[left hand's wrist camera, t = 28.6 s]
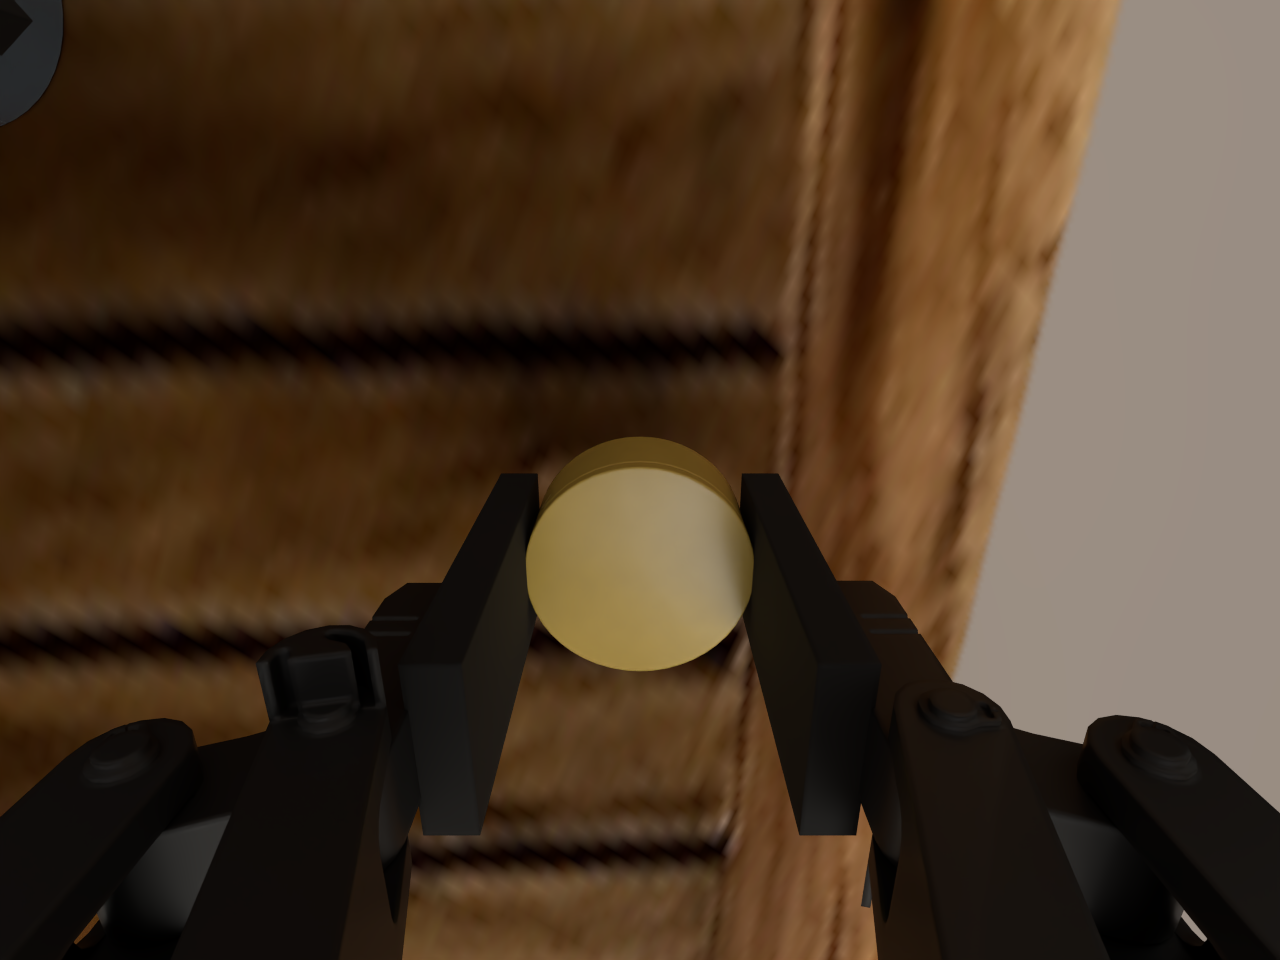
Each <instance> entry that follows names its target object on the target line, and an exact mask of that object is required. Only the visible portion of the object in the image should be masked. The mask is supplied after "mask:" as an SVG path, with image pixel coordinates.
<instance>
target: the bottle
mask: <svg viewBox="0 0 1280 960" xmlns="http://www.w3.org/2000/svg"><path fill="white" fill-rule="evenodd" d="M15 2H16V3H17V4H18V5H19V6H20V7H21V8H22V9H23V10H24V12H25V13H26V14H27V15H28V16H29V17H30V18H31V19H32V20H33V22H32V23H31V24H30V25H29V26H28V27H27V28H26V30H25V31H24V32H23V33H22V34H21V35H20V36H19V37H18V38H17V40H16V41H15V42H14V43H13V44H12V45H11V46H10V47H9V48H8V50H7V51H6V52H5V53H4V54H3V55H2V56H1V55H0V126H2V125H4V124H6V123H8V122H11V121H13V120H15V119H16V118H18V117H19V116H21V115H22V114H24V113H25V112H26V111H28V110H29V109H30V108H31V107H32V106H33V105H34V104H35V103H36V102H37V101H38V100H39V99H40V97H41V96H42V94H43V93H44V91H45V90H46V88H47V87H48V86H49V83H50V81H51V79H52V77H53V75H54V73H55V70H56V67H57V64H58V60H59V57H60V53H61V46H62V39H63V7H62V0H15Z"/></svg>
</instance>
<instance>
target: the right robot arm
mask: <svg viewBox="0 0 1280 960" xmlns="http://www.w3.org/2000/svg"><path fill="white" fill-rule="evenodd" d="M32 22H33V20H32V19H31V18H30V17H29V16H28V15H27V14H26V13H25V12H24V10H23V9H22V8H21V7H20V6H19V5H18V4H17V3H16V2H15V0H0V55H1V56H2V55H3V54H4V53H5V52H6V51H7V50H8V48H9V47H10V46H11V45H12V44H13V43H14V42H15V41H16V40H17V38H18V37H19V36H20V35H21V34H22V33H23V32H24V31H25V30H26V28H27V27H28V26H29V25H30V24H31V23H32Z"/></svg>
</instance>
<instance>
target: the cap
mask: <svg viewBox="0 0 1280 960" xmlns="http://www.w3.org/2000/svg"><path fill="white" fill-rule="evenodd" d="M753 564H754V553H753V548H752V544H751V541H750V538H749V535H748V532H747V529H746V526H745V523H744V520H743V517H742V514H741V511H740V508H739V505H738V503H737V500H736V497H735V495H734V493H733V491H732V489H731V487H730V485H729V484H728V482H727V481H726V479H725V478H724V476H723V475H722V474H721V473H720V472H719V471H718V469H717V468H716V467H715V466H714V465H713V464H711V463H710V462H709V461H708V460H707V459H706V458H704V457H703V456H701V455H700V454H698V453H697V452H695V451H694V450H692V449H689V448H687V447H685V446H683V445H681V444H678V443H675V442H672V441H669V440H665V439H660V438H654V437H626V438H620V439H615V440H611V441H608V442H604V443H601V444H599V445H596V446H594V447H592V448H590V449H588V450H586V451H584V452H583V453H581V454H580V455H578V456H577V457H575V458H574V459H573V460H572V461H570V462H569V463H568V464H567V465H566V466H565V467H564V468H563V469H562V470H561V471H560V472H559V473H558V474H557V476H556V477H555V479H554V480H553V482H552V483H551V484H550V486H549V488H548V490H547V492H546V494H545V496H544V499H543V502H542V504H541V507H540V510H539V513H538V516H537V519H536V522H535V525H534V528H533V530H532V533H531V536H530V539H529V542H528V546H527V550H526V571H527V586H528V595H529V598H530V601H531V603H532V605H533V608H534V610H535V612H536V614H537V615H538V617H539V619H540V620H541V622H542V623H543V625H544V626H545V627H546V628H547V630H548V631H549V632H550V633H551V634H552V635H553V636H554V637H555V638H556V639H557V640H558V641H559V642H560V643H561V644H562V645H564V646H565V647H567V648H568V649H569V650H571V651H572V652H574V653H575V654H577V655H579V656H581V657H583V658H584V659H587V660H589V661H592V662H594V663H596V664H599V665H603V666H606V667H610V668H615V669H620V670H629V671H652V670H659V669H665V668H670V667H673V666H677V665H680V664H683V663H685V662H688V661H691V660H693V659H695V658H697V657H699V656H701V655H702V654H704V653H706V652H707V651H709V650H710V649H712V648H713V647H714V646H716V645H717V644H718V643H719V642H720V641H722V640H723V639H724V638H725V637H726V636H727V635H728V634H729V633H730V631H731V630H732V629H733V628H734V627H735V626H736V624H737V623H738V621H739V619H740V618H741V616H742V615H743V613H744V611H745V609H746V607H747V604H748V602H749V599H750V596H751V592H752V580H753Z"/></svg>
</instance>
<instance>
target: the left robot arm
mask: <svg viewBox="0 0 1280 960" xmlns="http://www.w3.org/2000/svg"><path fill="white" fill-rule="evenodd" d="M539 510H540V508H539V490H538V474H501V475H500V477H499V479H498V481H497V483H496V484H495V486H494V488H493V490H492V492H491V494H490V495H489V497H488V499H487V501H486V503H485V505H484V506H483V508H482V510H481V512H480V514H479V516H478V518H477V519H476V521H475V523H474V525H473V527H472V529H471V530H470V532H469V534H468V536H467V538H466V540H465V541H464V543H463V545H462V547H461V549H460V551H459V552H458V554H457V556H456V558H455V560H454V562H453V564H452V565H451V567H450V569H449V571H448V573H447V575H446V576H445V578H444V580H443V582H442V583H407V584H405V585H404V586H402V587H401V588H400V589H398V590H397V591H395V592H394V593H392V594H391V595H389V596H388V597H387V598H385V599H384V601H383V602H382V604H381V605H380V607H379V608H378V610H377V611H376V613H375V614H374V615H373V617H372V621H369V623H368V624H367V626H366V627H365V629H362V628H358V627H354V626H351V625H329V626H324V627H319V628H314V629H309V630H305V631H303V632H300V633H298V634H295V635H293V636H290V637H288V638H285V639H283V640H282V641H280V642H279V643H277V644H276V645H274V646H273V647H271V648H270V649H268V650H267V651H266V652H265V653H264V654H263V656H262V657H261V658H260V659H259V660H258V662H257V663H256V666H257V670H258V675H259V679H260V683H261V687H262V691H263V696H264V700H265V704H266V708H267V712H268V716H269V721H270V722H269V725H268V727H267V730H266V731H264V732H261V733H257V734H254V735H250V736H247V737H242V738H237V739H233V740H228V741H224V742H219V743H214V744H210V745H205V746H200V747H197V745H196V741H195V738H194V734H193V731H192V729H191V728H189V727H188V726H187V725H186V724H185V723H184V722H182V721H178V720H172V719H167V718H160V719H151V720H141V721H137V722H134V723H129V724H128V725H123V726H120V727H117V728H114V729H112V730H110V731H108V732H106V733H104V734H102V735H100V736H98V737H96V738H94V739H92V740H90V741H88V742H86V743H85V744H84V745H82V746H81V747H80V748H78V749H77V750H75V751H74V752H73V753H71V754H70V755H69V756H67V757H66V758H65V759H64V760H63V761H61V762H60V763H59V764H58V765H57V766H56V767H55V768H54V769H53V770H52V771H51V772H49V773H48V774H47V775H46V776H45V777H44V778H43V779H42V780H41V781H40V782H38V783H37V784H36V785H35V786H34V787H33V788H32V789H31V790H30V791H29V792H27V793H26V794H25V795H24V796H23V797H22V798H21V799H20V800H19V801H18V802H16V803H15V804H14V805H13V806H12V807H11V808H10V809H9V810H8V811H7V812H5V813H4V814H3V815H2V816H1V817H0V960H402V954H403V945H404V935H405V925H406V916H407V906H408V897H409V887H410V878H411V868H412V860H411V853H410V847H409V841H408V833H409V830H410V827H411V825H412V822H413V819H414V817H415V814H416V811H417V809H418V806H419V809H420V816H421V822H422V829H423V835H480V834H481V830H482V826H483V822H484V818H485V814H486V810H487V807H488V803H489V799H490V795H491V791H492V787H493V783H494V780H495V776H496V772H497V768H498V764H499V760H500V756H501V752H502V749H503V745H504V741H505V737H506V733H507V729H508V725H509V722H510V718H511V714H512V710H513V706H514V702H515V698H516V694H517V691H518V687H519V683H520V679H521V675H522V671H523V667H524V664H525V660H526V656H527V652H528V648H529V644H530V640H531V637H532V633H533V629H534V625H535V621H536V617H537V614H536V612H535V610H534V608H533V605H532V603H531V601H530V598H529V595H528V586H527V571H526V550H527V546H528V542H529V539H530V536H531V533H532V530H533V528H534V525H535V522H536V519H537V516H538V513H539ZM740 511H741V514H742V517H743V520H744V523H745V526H746V529H747V532H748V535H749V538H750V541H751V544H752V548H753V553H754V564H753V580H752V592H751V596H750V599H749V602H748V604H747V607H746V609H745V611H744V613H743V619H744V623H745V627H746V630H747V634H748V638H749V642H750V646H751V650H752V654H753V658H754V661H755V665H756V669H757V673H758V677H759V681H760V685H761V688H762V692H763V696H764V700H765V704H766V708H767V712H768V716H769V719H770V723H771V727H772V731H773V735H774V739H775V743H776V746H777V750H778V754H779V758H780V762H781V766H782V770H783V774H784V777H785V781H786V785H787V789H788V793H789V797H790V801H791V804H792V808H793V812H794V816H795V820H796V824H797V828H798V832H799V835H856V833H857V826H858V819H859V813H860V806H861V804H862V807H863V809H864V812H865V815H866V817H867V820H868V822H869V825H870V828H871V830H872V833H873V834H872V841H871V847H870V853H869V859H868V865H867V871H866V878H865V884H864V890H863V897H862V904H861V906H864V907H869V908H870V906H871V900H872V905H873V914H874V924H875V933H876V943H877V952H878V960H1280V813H1279V812H1278V811H1277V810H1276V809H1275V808H1274V807H1272V806H1271V805H1270V804H1269V803H1268V802H1267V801H1266V800H1265V799H1264V798H1262V797H1261V796H1260V795H1259V794H1258V793H1257V792H1256V791H1255V790H1254V789H1253V788H1251V787H1250V786H1249V785H1248V784H1247V783H1246V782H1245V781H1244V780H1243V779H1241V778H1240V777H1239V776H1238V775H1237V774H1236V773H1235V772H1234V771H1233V770H1231V769H1230V768H1229V767H1228V766H1227V765H1226V764H1225V763H1224V762H1223V761H1222V760H1220V759H1219V758H1218V757H1217V756H1216V755H1215V754H1214V753H1212V752H1211V751H1209V750H1208V749H1207V748H1205V747H1204V746H1202V745H1201V744H1200V743H1198V742H1197V741H1196V740H1194V739H1193V738H1191V737H1189V736H1187V735H1185V734H1183V733H1181V732H1179V731H1177V730H1175V729H1172V728H1171V727H1169V726H1167V725H1164V724H1161V723H1158V722H1153V721H1151V720H1147V719H1143V718H1139V717H1130V716H1121V715H1114V716H1108V717H1102V718H1098V719H1097V720H1095V721H1094V722H1093V723H1092V724H1091V725H1090V726H1088V729H1087V732H1086V736H1085V739H1084V743H1083V744H1079V743H1075V742H1070V741H1065V740H1061V739H1056V738H1051V737H1047V736H1042V735H1037V734H1032V733H1029V732H1025V731H1022V730H1019V729H1015V728H1013V726H1012V724H1011V721H1010V720H1009V718H1008V717H1007V715H1006V714H1005V713H1004V711H1003V710H1002V708H1001V707H1000V706H999V705H997V704H996V703H995V702H993V701H992V700H991V699H989V698H988V697H987V696H986V695H984V694H983V693H980V692H978V691H976V690H974V689H972V688H969V687H967V686H965V685H963V684H959V683H954V682H953V681H952V680H951V678H950V677H949V675H948V674H947V673H946V671H945V670H944V668H943V667H942V665H941V664H940V662H939V661H938V659H937V658H936V656H935V655H934V653H933V652H932V650H931V649H930V647H929V646H928V644H927V643H926V641H925V640H924V639H923V637H922V636H921V634H918V630H917V628H916V627H915V625H914V624H913V622H912V621H911V619H910V618H908V617H907V613H906V612H905V610H904V609H903V607H902V606H901V605H900V603H899V602H898V600H897V599H896V597H895V596H894V595H892V594H891V593H889V592H888V591H886V590H885V589H883V588H882V587H881V586H879V585H878V584H876V583H875V582H873V581H836V579H835V577H834V575H833V574H832V572H831V570H830V568H829V566H828V564H827V563H826V561H825V559H824V557H823V555H822V553H821V552H820V550H819V548H818V546H817V544H816V542H815V540H814V539H813V537H812V535H811V533H810V531H809V529H808V528H807V526H806V524H805V522H804V520H803V518H802V517H801V515H800V513H799V511H798V509H797V507H796V506H795V504H794V502H793V500H792V498H791V496H790V494H789V493H788V491H787V489H786V487H785V485H784V483H783V482H782V480H781V478H780V476H779V474H742V482H741V500H740ZM1183 910H1185V912H1186V913H1187V914H1188V915H1189V917H1190V918H1191V919H1192V920H1193V921H1194V923H1195V924H1196V925H1197V926H1198V928H1199V929H1200V930H1201V931H1202V933H1203V934H1204V935H1205V936H1206V937H1207V940H1206V941H1205V942H1204V941H1202V940H1201V939H1200V938H1199V937H1198V936H1197V935H1196V934H1195V933H1194V932H1193V931H1192V930H1191V928H1190V927H1189V926H1188V925H1187V923H1186V922H1185V921H1184V920H1183V918H1182V917H1181V915H1182V913H1183ZM96 913H97V915H98V917H99V921H98V922H97V923H96V924H95V926H94V927H93V928H92V929H91V931H90V932H89V933H88V934H87V935H86V936H85V937H84V938H83V939H82V940H81V941H79V942H78V943H77V944H75V943H74V941H75V939H76V938H77V937H78V936H79V935H80V933H81V932H82V931H83V930H84V928H85V927H86V926H87V925H88V923H89V922H90V921H91V920H92V918H93V917H94V916H95V915H96Z"/></svg>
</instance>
